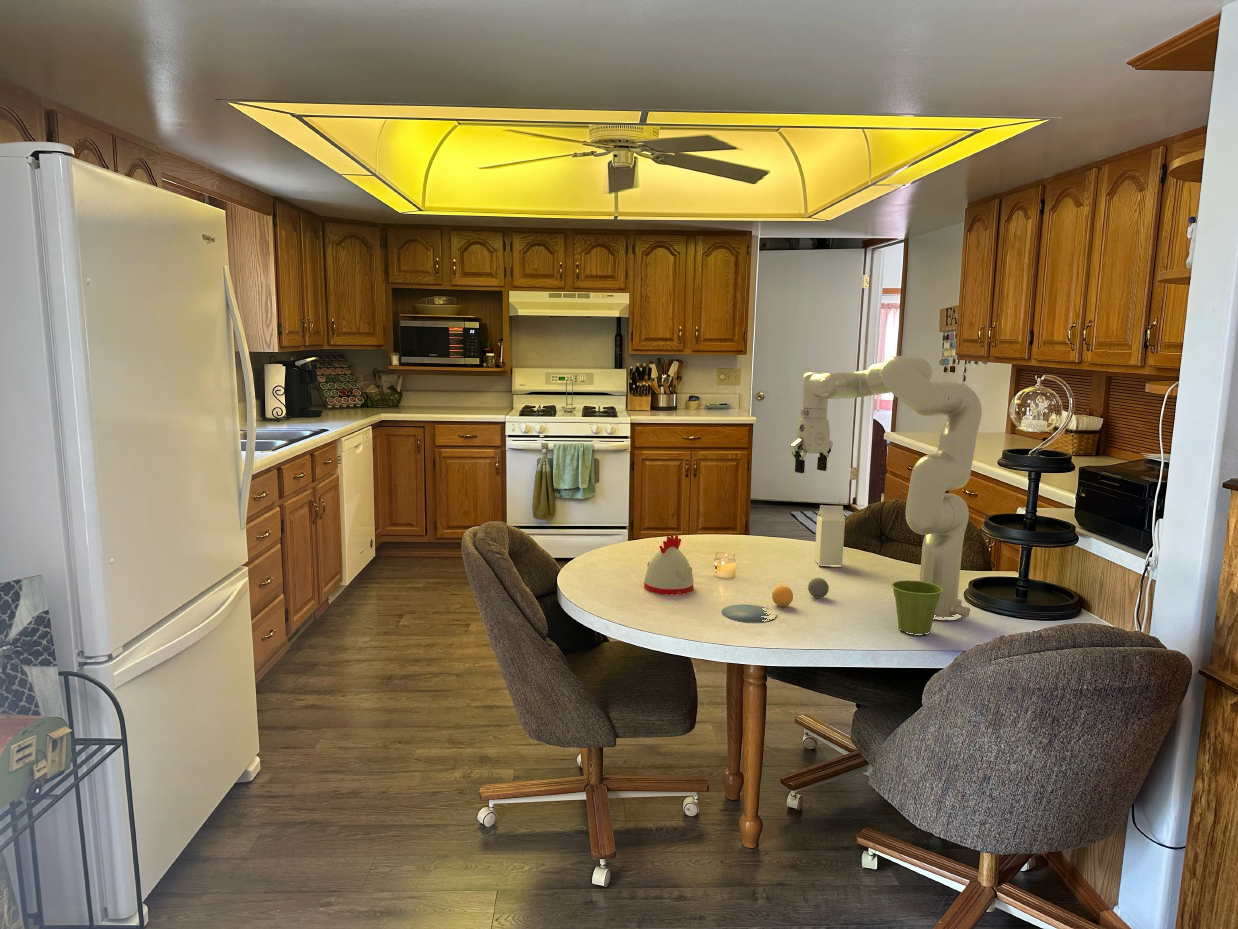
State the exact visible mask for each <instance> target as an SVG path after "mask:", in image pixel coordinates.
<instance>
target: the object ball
mask: <svg viewBox="0 0 1238 929" xmlns="http://www.w3.org/2000/svg"><path fill="white" fill-rule="evenodd" d="M771 599H772V601H773V603H774V604H775V605H776V606H778V607H782V606H784V607H787V606H789V605H790V604H791V603H792V602H793V599H794V593H793V591H792V589H791V588H790V587H789V586H786V585H783V584H782V585H778V586H776V587H775V588H774V589H773V590H772V592H771Z"/></svg>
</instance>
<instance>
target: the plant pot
mask: <svg viewBox="0 0 1238 929" xmlns="http://www.w3.org/2000/svg"><path fill="white" fill-rule="evenodd" d="M890 586H891V587H892V589H893V596H894V599H895V607H896V616H897V625H898V626H897V627H898V630H899V629H901V630H902V631H901V632H903V631H905V632H908V633H913V634H924V635H926V634H925V633H928V632H930V633H931V629H932V625H933V621H934V620H933V618H934V613H935V609H936V605H937V602H938V600H939V596H940V593H942V592H943V588H942V587H940V586H938V585H936V584H932V583H928V582H923V581H920V580H896V581H893V582H891V584H890Z"/></svg>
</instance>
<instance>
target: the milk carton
mask: <svg viewBox="0 0 1238 929" xmlns="http://www.w3.org/2000/svg"><path fill="white" fill-rule="evenodd" d="M818 510H819V511H818V513H817V514H816V515H817V516H816V529H815V530H816V531H815V544H814V545H815V547H814V561H815V560H816V562H817V563H818V564H819V565H842V566H843V560H844V558H843V557H844V545H845V544H844V543H845V542H844V541H845V525H846V524H845V523H846V518H845V514H844V506H843V505H822V504H821V505H819V509H818ZM816 562H815V563H816ZM817 563H816V564H817Z"/></svg>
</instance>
